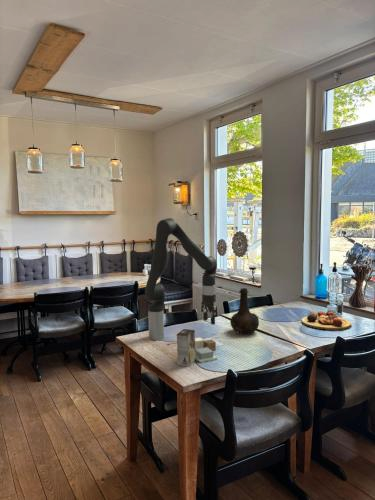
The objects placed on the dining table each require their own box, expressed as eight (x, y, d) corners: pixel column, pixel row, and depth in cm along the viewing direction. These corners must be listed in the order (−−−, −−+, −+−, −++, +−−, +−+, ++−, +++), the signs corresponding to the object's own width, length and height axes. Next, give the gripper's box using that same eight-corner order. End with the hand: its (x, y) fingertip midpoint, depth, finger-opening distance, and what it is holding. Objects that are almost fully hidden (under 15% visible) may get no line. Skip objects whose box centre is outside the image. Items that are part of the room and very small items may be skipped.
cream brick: (192, 347, 214) (192, 338, 214) (200, 345, 217) (200, 337, 216) (196, 350, 210) (196, 341, 209) (204, 348, 212) (204, 340, 212)
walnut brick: (203, 349, 211) (203, 340, 210) (211, 348, 213) (211, 339, 212) (207, 352, 206) (207, 343, 206) (215, 350, 208) (215, 342, 208)
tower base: (191, 356, 200) (191, 349, 200) (208, 353, 205) (208, 346, 204) (200, 362, 191) (200, 355, 191) (217, 359, 196) (217, 351, 195)
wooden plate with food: (359, 331, 240) (360, 318, 239) (309, 331, 240) (309, 318, 240) (340, 318, 272) (340, 307, 271) (295, 318, 272) (296, 307, 272)
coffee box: (184, 358, 198) (183, 328, 196) (195, 360, 195) (195, 329, 194) (177, 365, 189) (176, 333, 188) (189, 366, 187) (188, 335, 185)
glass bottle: (258, 337, 230) (258, 291, 227) (229, 335, 234) (229, 291, 231) (259, 328, 247) (259, 286, 245) (231, 327, 251) (231, 285, 248)
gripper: (196, 291, 211) (197, 320, 213) (208, 296, 198) (209, 326, 200) (208, 290, 214) (209, 318, 216) (221, 294, 202) (221, 324, 203)
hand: (209, 322), depth 208 cm, fingers open, 8 cm apart
